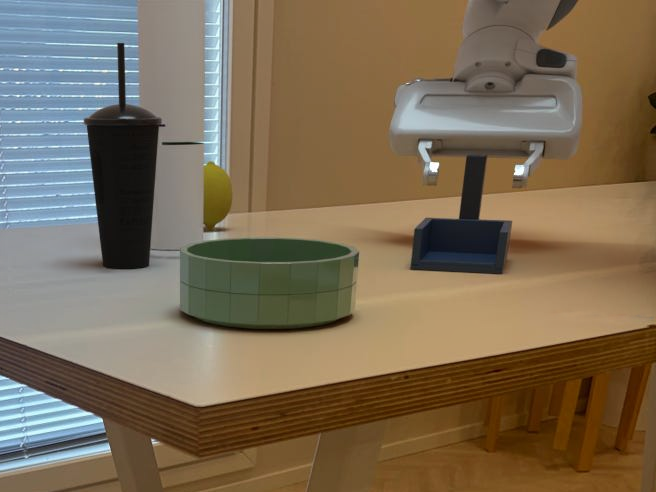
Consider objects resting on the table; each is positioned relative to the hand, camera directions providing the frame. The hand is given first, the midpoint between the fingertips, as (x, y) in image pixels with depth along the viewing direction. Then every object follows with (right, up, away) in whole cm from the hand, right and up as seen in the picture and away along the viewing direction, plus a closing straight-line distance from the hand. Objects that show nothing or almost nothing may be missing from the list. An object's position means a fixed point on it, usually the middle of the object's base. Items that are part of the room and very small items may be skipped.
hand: (474, 183), depth 111 cm
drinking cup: (-37, -10, -4) cm, 39 cm away
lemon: (-28, +3, +21) cm, 35 cm away
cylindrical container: (-33, -4, +9) cm, 34 cm away
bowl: (-25, -22, -26) cm, 42 cm away
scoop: (-3, -10, -4) cm, 11 cm away
